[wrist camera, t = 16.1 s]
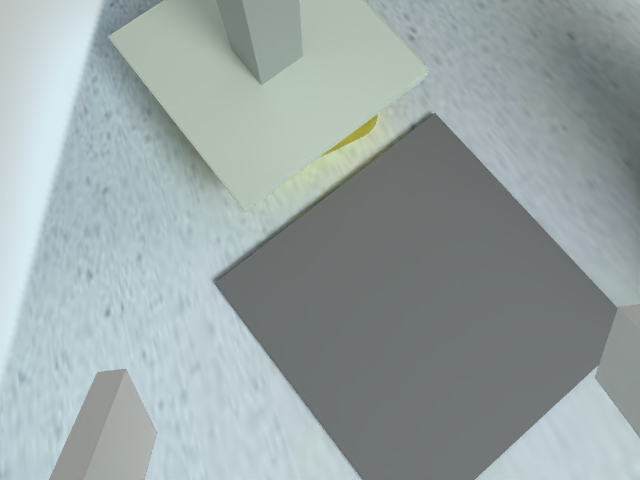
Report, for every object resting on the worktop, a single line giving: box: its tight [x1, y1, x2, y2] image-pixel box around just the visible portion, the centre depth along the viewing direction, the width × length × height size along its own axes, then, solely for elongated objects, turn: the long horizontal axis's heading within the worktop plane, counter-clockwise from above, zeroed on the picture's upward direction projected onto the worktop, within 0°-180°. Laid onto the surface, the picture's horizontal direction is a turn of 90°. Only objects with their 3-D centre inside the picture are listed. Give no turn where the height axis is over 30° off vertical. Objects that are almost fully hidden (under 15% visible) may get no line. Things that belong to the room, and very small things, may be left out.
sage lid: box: [108, 0, 429, 212], centre depth 31 cm, size 18×18×11 cm
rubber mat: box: [215, 113, 618, 480], centre depth 36 cm, size 24×24×1 cm
